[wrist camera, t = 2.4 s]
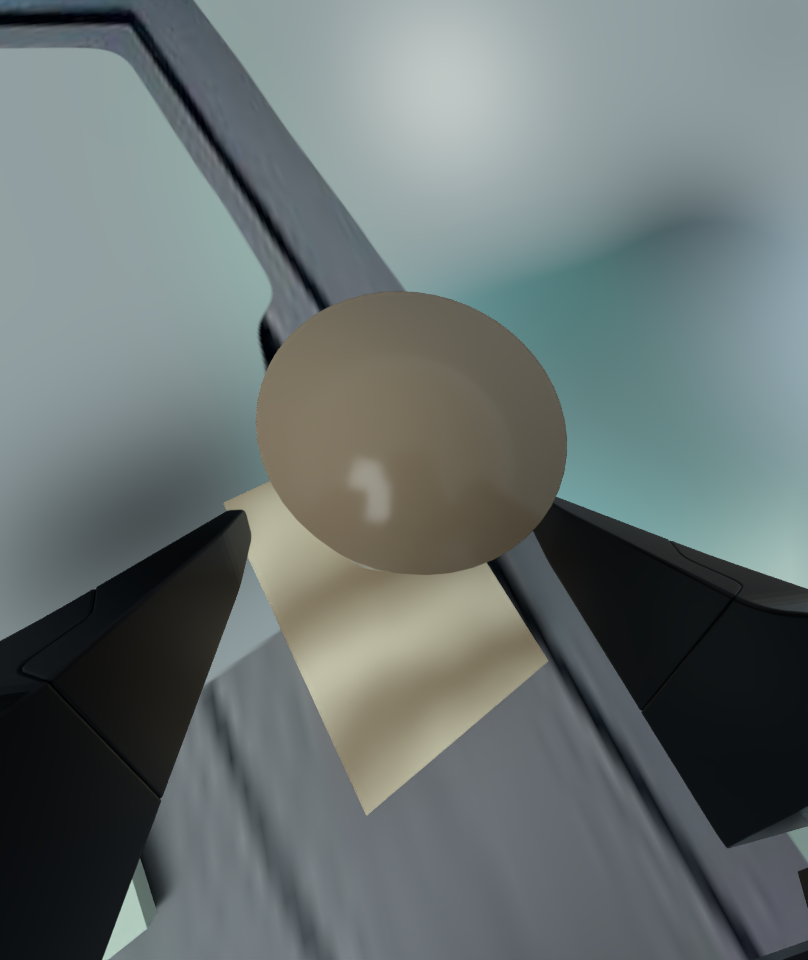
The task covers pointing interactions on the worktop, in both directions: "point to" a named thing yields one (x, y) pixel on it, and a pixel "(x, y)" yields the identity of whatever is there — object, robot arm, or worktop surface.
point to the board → (386, 647)
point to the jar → (411, 433)
